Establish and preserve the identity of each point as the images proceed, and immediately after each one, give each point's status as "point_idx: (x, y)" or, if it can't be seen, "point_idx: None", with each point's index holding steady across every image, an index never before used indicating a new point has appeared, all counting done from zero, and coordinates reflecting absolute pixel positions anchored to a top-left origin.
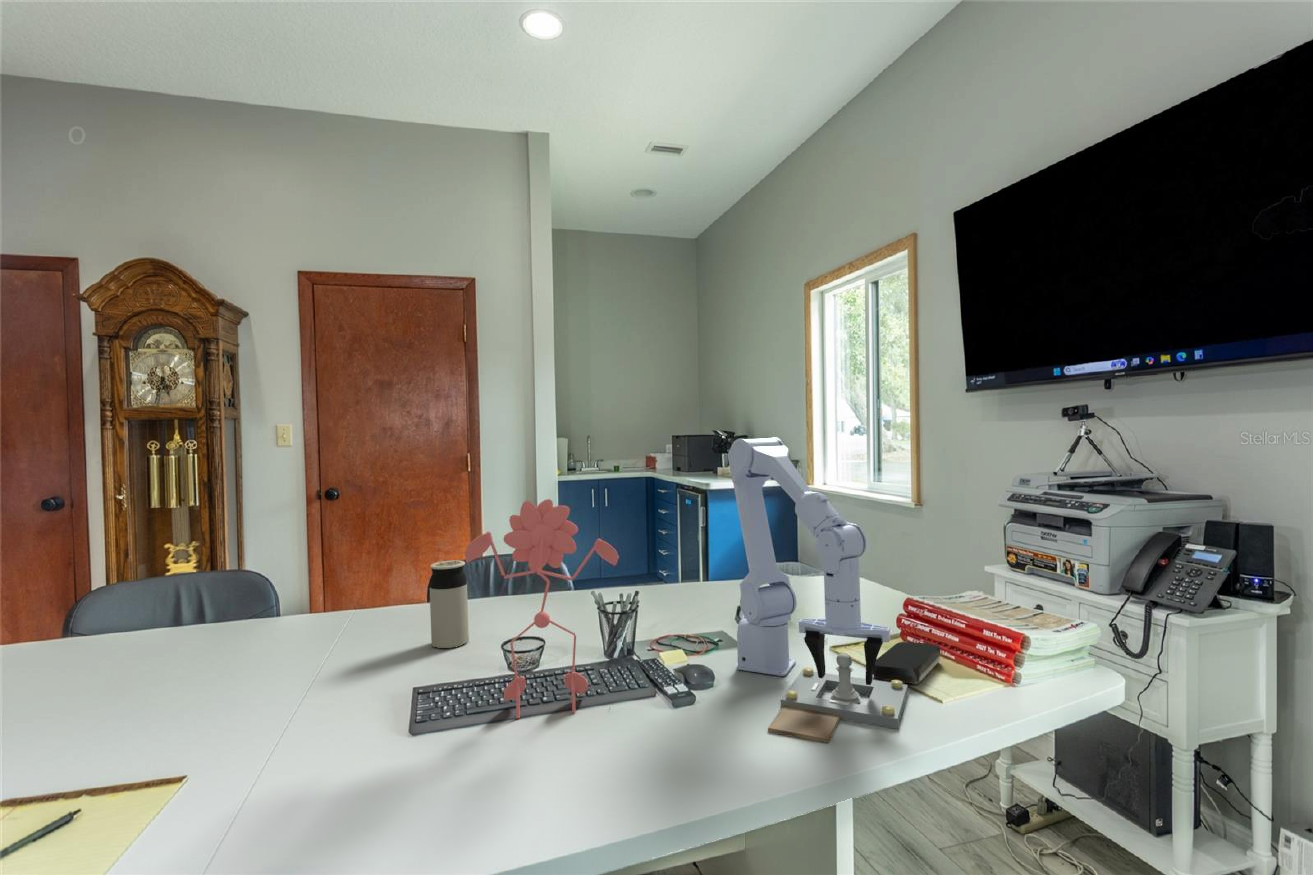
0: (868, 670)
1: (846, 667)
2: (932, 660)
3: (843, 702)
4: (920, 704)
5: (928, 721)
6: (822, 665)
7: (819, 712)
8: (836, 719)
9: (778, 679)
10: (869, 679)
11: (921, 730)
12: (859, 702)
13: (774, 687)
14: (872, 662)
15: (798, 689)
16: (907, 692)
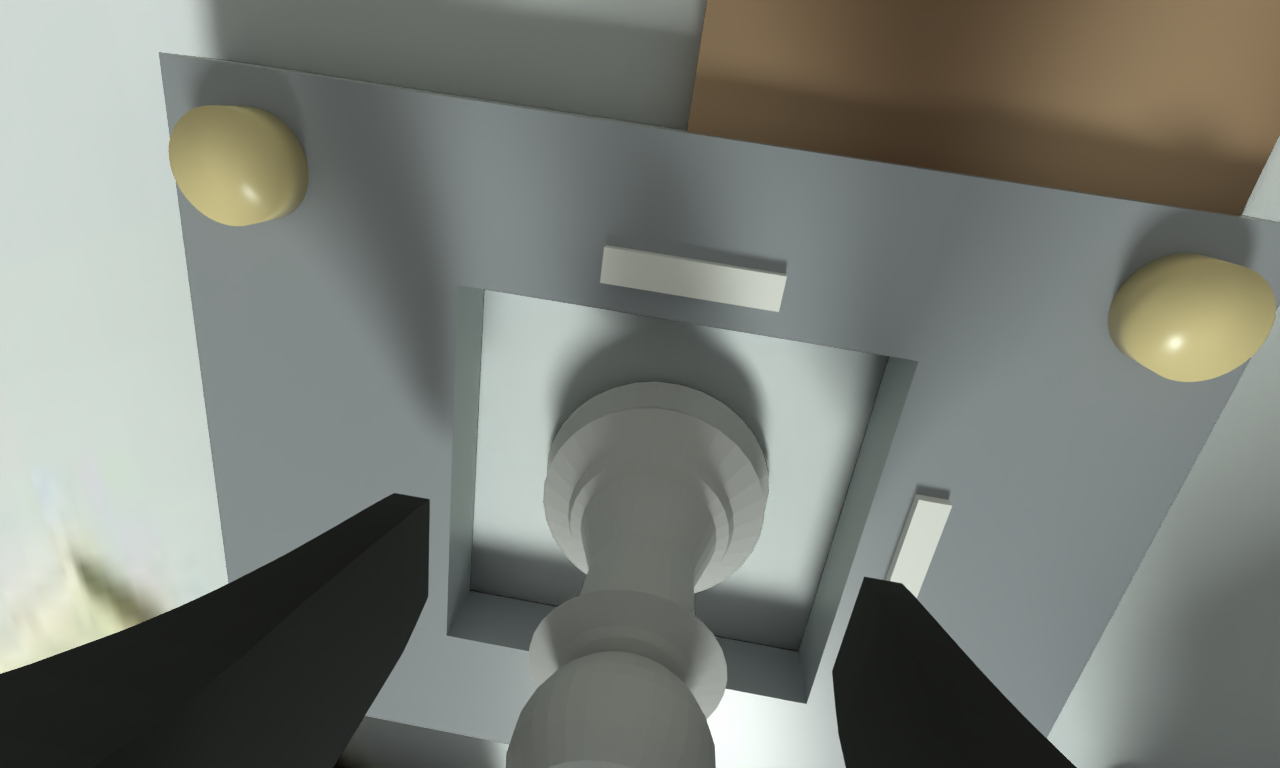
0: (304, 570)
1: (590, 653)
2: None
3: (653, 280)
4: (180, 516)
5: (69, 266)
6: (889, 711)
7: (879, 135)
8: (716, 11)
9: (1162, 747)
10: (361, 516)
11: (67, 89)
12: (552, 458)
13: (1223, 620)
14: (149, 627)
15: (1072, 499)
16: None
